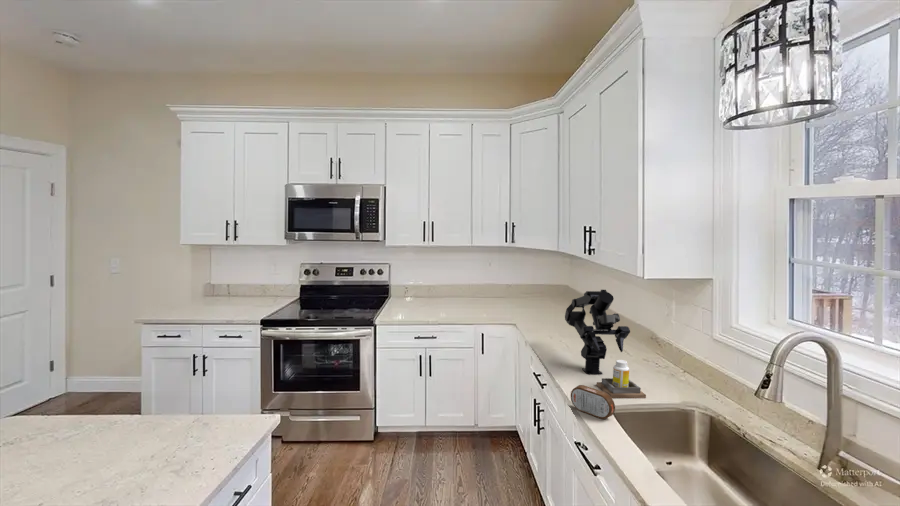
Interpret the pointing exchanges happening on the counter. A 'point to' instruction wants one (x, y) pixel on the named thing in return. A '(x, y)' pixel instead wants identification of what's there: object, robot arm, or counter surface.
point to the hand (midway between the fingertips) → (610, 351)
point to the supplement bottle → (620, 374)
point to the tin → (592, 401)
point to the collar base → (620, 389)
